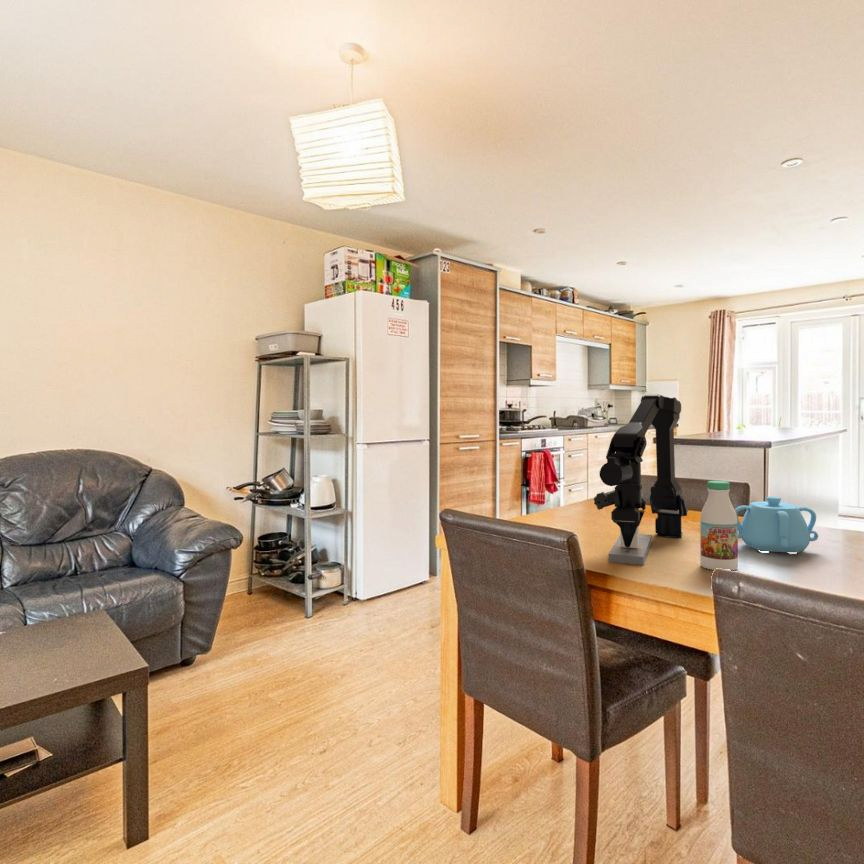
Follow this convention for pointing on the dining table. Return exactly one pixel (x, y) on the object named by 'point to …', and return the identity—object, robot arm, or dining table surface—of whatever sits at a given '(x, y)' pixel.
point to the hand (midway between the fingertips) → (629, 542)
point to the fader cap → (634, 542)
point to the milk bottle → (718, 529)
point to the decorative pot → (776, 526)
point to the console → (631, 551)
